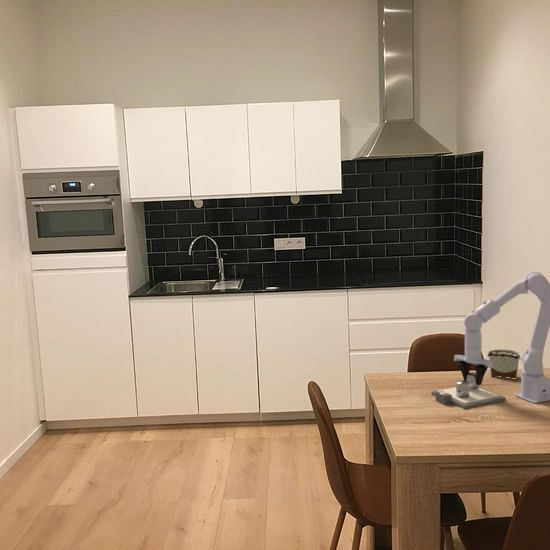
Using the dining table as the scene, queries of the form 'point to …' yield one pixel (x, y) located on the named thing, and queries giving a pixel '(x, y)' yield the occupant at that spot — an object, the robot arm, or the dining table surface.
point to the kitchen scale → (474, 399)
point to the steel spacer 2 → (472, 380)
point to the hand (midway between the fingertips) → (473, 383)
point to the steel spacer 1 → (462, 389)
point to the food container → (504, 363)
